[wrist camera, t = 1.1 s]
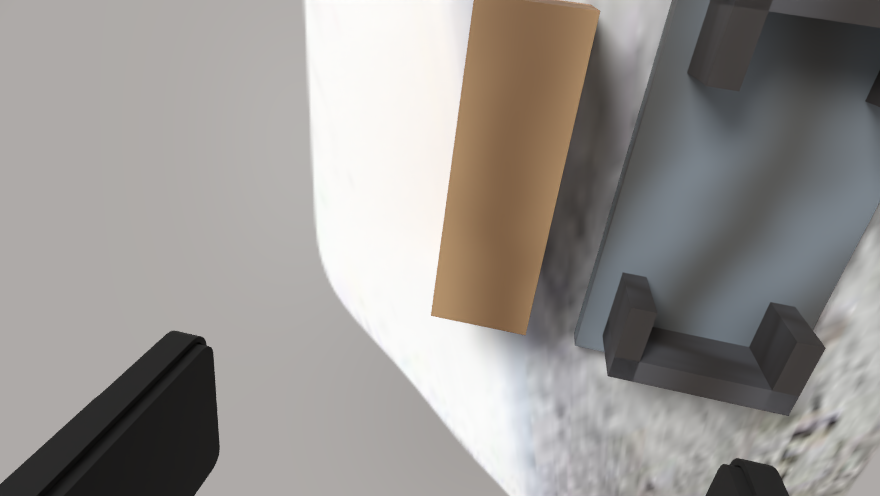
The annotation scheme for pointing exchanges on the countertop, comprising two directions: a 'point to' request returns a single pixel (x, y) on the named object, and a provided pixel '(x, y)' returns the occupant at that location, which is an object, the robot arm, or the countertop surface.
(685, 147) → the dark grey holder
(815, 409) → the countertop surface
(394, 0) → the countertop surface
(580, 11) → the tan brown block
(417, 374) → the countertop surface
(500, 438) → the countertop surface
